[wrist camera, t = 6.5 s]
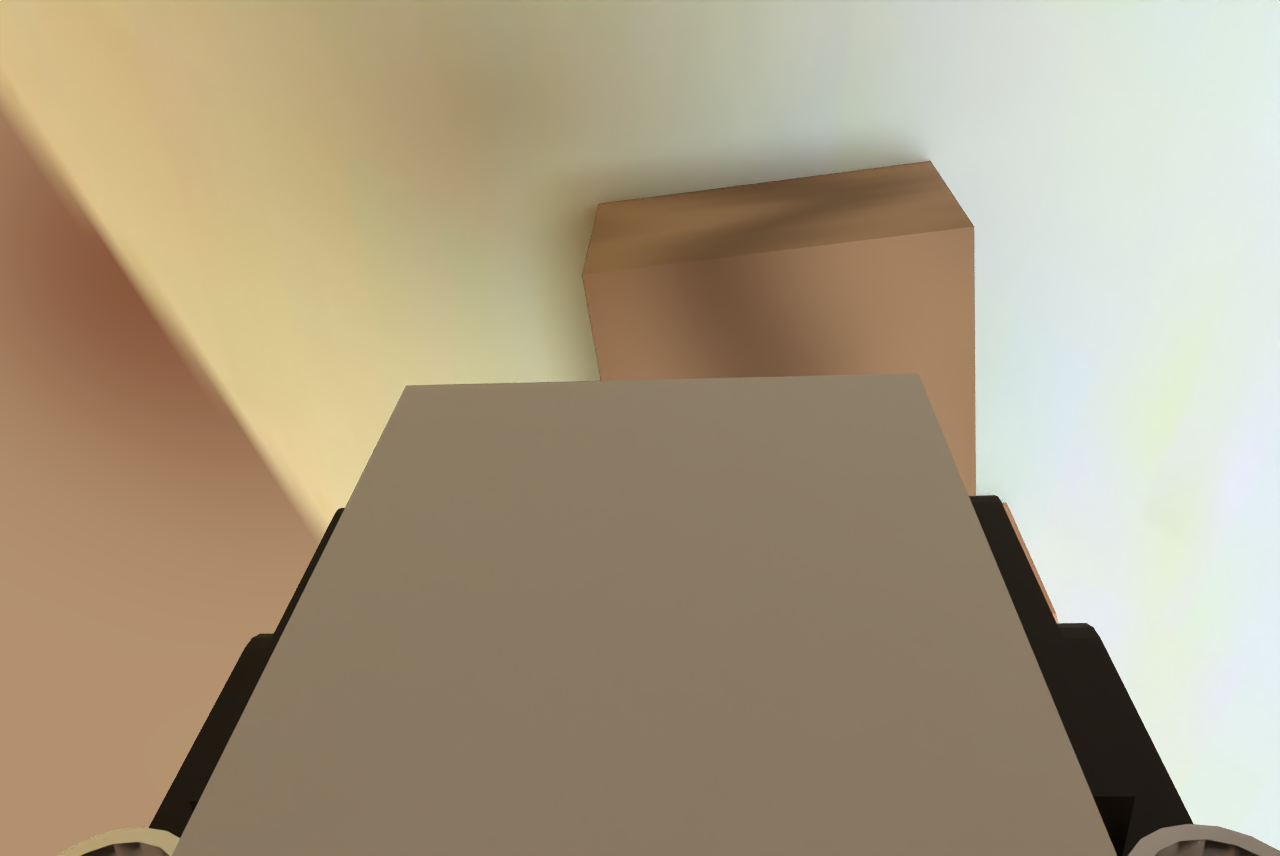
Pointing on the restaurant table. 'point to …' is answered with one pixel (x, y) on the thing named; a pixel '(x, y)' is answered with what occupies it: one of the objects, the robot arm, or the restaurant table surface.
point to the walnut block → (794, 286)
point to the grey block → (654, 641)
